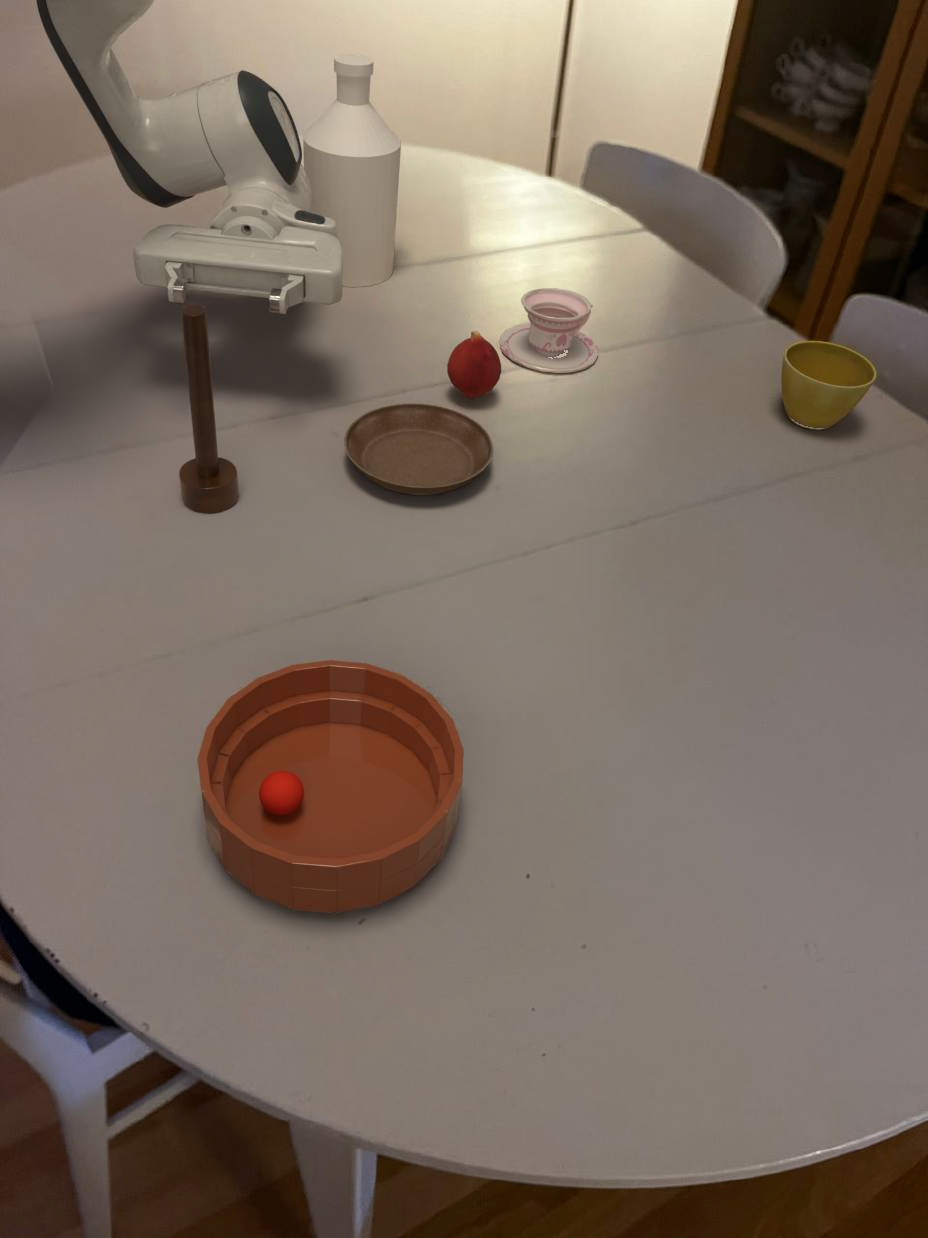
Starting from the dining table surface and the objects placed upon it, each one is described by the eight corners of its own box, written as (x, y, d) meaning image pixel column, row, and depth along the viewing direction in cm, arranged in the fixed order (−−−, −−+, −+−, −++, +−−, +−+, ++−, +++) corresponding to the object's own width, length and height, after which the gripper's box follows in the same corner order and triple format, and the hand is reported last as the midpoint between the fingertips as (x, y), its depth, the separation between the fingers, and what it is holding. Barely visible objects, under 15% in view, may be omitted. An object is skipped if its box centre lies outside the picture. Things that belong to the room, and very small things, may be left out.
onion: (491, 384, 116) (499, 319, 111) (501, 411, 112) (510, 345, 106) (441, 384, 115) (447, 318, 110) (449, 412, 111) (455, 344, 105)
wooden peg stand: (174, 508, 94) (151, 319, 81) (192, 476, 98) (172, 291, 85) (229, 517, 94) (215, 328, 81) (245, 484, 98) (233, 300, 85)
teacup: (526, 381, 117) (534, 331, 113) (482, 332, 125) (488, 284, 121) (615, 367, 122) (626, 319, 117) (568, 321, 129) (576, 274, 125)
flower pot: (857, 450, 113) (881, 393, 108) (766, 433, 114) (786, 376, 109) (850, 405, 120) (872, 350, 116) (764, 389, 121) (783, 333, 116)
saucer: (349, 510, 96) (350, 487, 94) (339, 425, 107) (339, 402, 105) (502, 507, 99) (505, 484, 97) (477, 424, 110) (479, 402, 108)
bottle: (309, 287, 129) (307, 72, 112) (300, 248, 138) (297, 42, 121) (401, 287, 132) (413, 77, 115) (387, 248, 140) (396, 47, 123)
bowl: (179, 907, 65) (169, 853, 60) (233, 706, 77) (228, 650, 73) (449, 929, 65) (457, 877, 61) (459, 726, 78) (467, 672, 74)
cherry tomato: (264, 781, 67) (306, 768, 68) (249, 774, 69) (290, 762, 71) (272, 825, 67) (314, 811, 69) (257, 816, 70) (297, 804, 71)
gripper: (149, 199, 103) (109, 255, 93) (351, 221, 104) (334, 279, 94) (156, 259, 107) (118, 320, 97) (350, 280, 108) (333, 342, 98)
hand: (226, 300), depth 95 cm, fingers open, 8 cm apart
